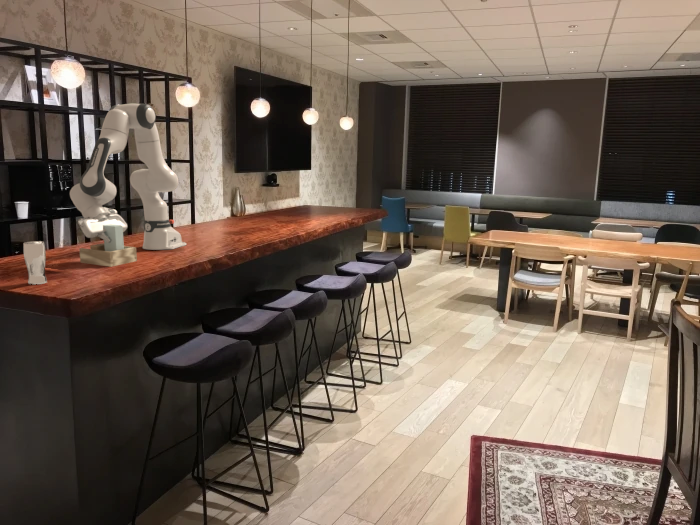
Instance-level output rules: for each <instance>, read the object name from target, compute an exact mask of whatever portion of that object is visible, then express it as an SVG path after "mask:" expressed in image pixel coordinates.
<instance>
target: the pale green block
mask: <svg viewBox="0 0 700 525" xmlns="http://www.w3.org/2000/svg"><path fill="white" fill-rule="evenodd" d="M103 226H104V227H105V229H106V232H104V233H105V235H106V236H107V237H110V238H111V240H112V241H111V242H110V243H107V242H106V241H105V240H103V243H104V246H105V251H109V252H111V251H116V250H122V249H124V246H125V243H124V232H123V226H122V225H113V224H109V225H103Z"/></svg>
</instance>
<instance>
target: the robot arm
mask: <svg viewBox="0 0 700 525" xmlns="http://www.w3.org/2000/svg"><path fill="white" fill-rule="evenodd" d="M156 120H157V114H156V111H155V110H154V107H153V106H151V105H150V104H148V103H135V102H134V103H125V104H115V105H112V106H111V107H110V108H109V110H108V112H107V113H106V116H105V117H104V120H103V123H102V127H101V130H100V135H99V137H98V139H97V141H96V143H95V144H94V147H93V150H92V152H91V156H90V158H89V161H88V164H87V167H86V168H85V169H86V170H85V171H84V173H83V174H82V175H81V177H80V179H79V183H76V184H75V185H74V186H72V187H71V189H70V190H69V198H70V199H71V201H72V203H73V205H74V206H75V207H76V209H77V211H79V212H80V213H81V215H82V217H83V218H79V219H77V224H78V226H79V227H80V229H81V231H82V233H83V235H84V236H85V237H86V238H87V239H91V238H96V237H99V238H100V239H102V240H103V241H104V240H105V241H106V242H107V243H110V242H111V241H112V240H111V238H110V237H107V236H106V235H105V233H104V232H106V229H105V227H104V226H103V225H109V224H113V225H122V226H123V233H124V232H126V231H127V229H128V223H127V222H126V221H125V219H124V218H123V217H122V216H121V215H120V214H118V211H117V210H116V209H114V208H108V207H106V206H105V205H106V204H108V203H110V202H112V201H113V200H114V199H115V198H116V197H117V192H118V191H117V190H118V189H117V186H116V185H115V184H114V183H113V182H112V181H110V180H108V178H106V177H105V175H104V171H105V168H106V165H107V161H108V159H109V156H110V155H112V154H113V155H115V154H119V153H121V152H123V151H124V150H125V149H126V146H127V143H128V138H129V134H130V132H129V131H130V129H131V130H132V129H133V130H134V139H135V141H134V142H135V147H136V151H137V152H136V153H137V157H138V159H139V160H140V162H142V163H144V165H145V166H146V167H147V168H140V169H137V170H134V171H132V173H131V174H130V176H129V182H130V185H131V187H132V188H133V189H134V190H135V191H136V192H137V194H138V195H139V197H140V200H141V203H142V206H143V215H144V216H143V217H144V220H143V227H144V230H143V231H144V233H143V244H142V249H143V250H153V251H155V250H156V251H158V250H159V251H161V250H174V249H177V248H181V247H184V246H186V245H187V242H185V241H183V240H182V235H181V233H180V232H179V231H178V230H177V229H174V227H172V225H173V224H174V223H175V220H174V219H169V215H168V204H167V202H166V201H164V199H162V197H161V196H160V193H169V192H170V193H171V192H174V191H176V189H177V188H178V186H179V177H178V175H177V173H175V172H174V171H173V170H172V169H171V167H169V166H168V163H166V160H165V158H164V155H163V151H162V146H161V140H160V134H159V131H158V127H157V124H156ZM171 224H172V225H171Z"/></svg>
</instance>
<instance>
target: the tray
mask: <svg viewBox="0 0 700 525" xmlns="http://www.w3.org/2000/svg"><path fill="white" fill-rule="evenodd" d="M137 255H138V254H137V247H136V246H129V245H127V246H126V245H124V249H122V250H116V251H111V252H109V251H101V250H93V249H90V248H83V247H80V248H79V261H80V262H79V263H82V264H89V265H96V266H104V267H109V268H110V267H111V268H112V267H117V266H121V265H126V264H129V263H133V262H137V261H138V256H137Z"/></svg>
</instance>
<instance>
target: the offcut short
mask: <svg viewBox="0 0 700 525" xmlns="http://www.w3.org/2000/svg"><path fill="white" fill-rule="evenodd" d="M89 247H90V248H89V249H93V250H101V251H105V246H104V242H102V243H96V244H91V245H89Z"/></svg>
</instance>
